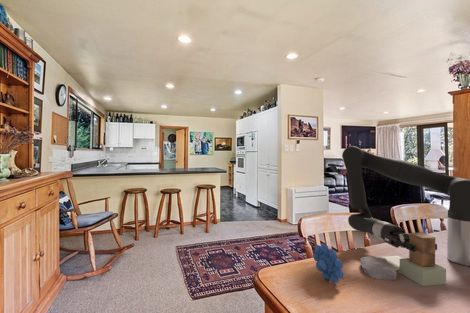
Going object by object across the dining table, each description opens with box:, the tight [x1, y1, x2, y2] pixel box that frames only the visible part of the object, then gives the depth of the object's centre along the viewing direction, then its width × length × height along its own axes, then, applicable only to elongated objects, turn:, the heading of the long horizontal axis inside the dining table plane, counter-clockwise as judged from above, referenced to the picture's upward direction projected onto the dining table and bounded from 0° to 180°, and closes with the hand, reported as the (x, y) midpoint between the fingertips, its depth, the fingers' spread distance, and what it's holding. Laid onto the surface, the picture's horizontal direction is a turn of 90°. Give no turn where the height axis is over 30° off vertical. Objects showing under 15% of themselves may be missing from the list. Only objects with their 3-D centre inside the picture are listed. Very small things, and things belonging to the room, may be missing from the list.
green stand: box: [398, 257, 447, 287], centre depth 82 cm, size 9×9×5 cm
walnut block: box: [408, 232, 436, 268], centre depth 82 cm, size 5×5×10 cm
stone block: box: [359, 256, 398, 281], centre depth 87 cm, size 12×5×10 cm
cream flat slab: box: [377, 255, 404, 271], centre depth 93 cm, size 10×9×1 cm
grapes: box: [312, 243, 344, 284], centre depth 80 cm, size 12×7×12 cm, turn 33°
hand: (425, 248), depth 81 cm, fingers open, 8 cm apart
